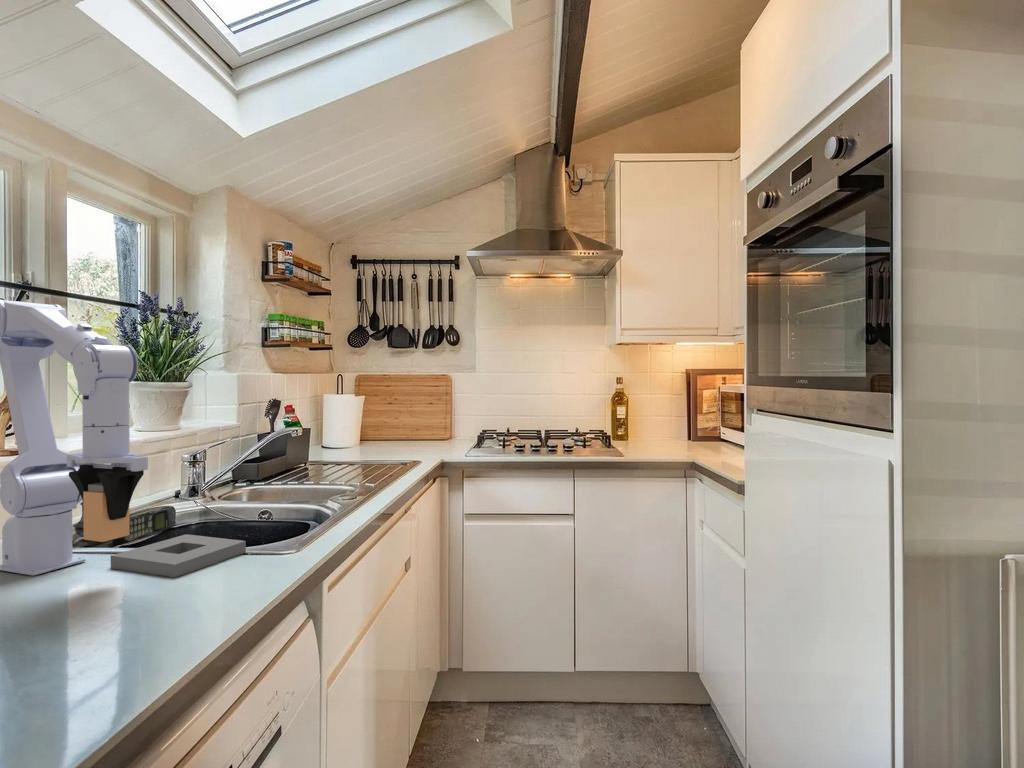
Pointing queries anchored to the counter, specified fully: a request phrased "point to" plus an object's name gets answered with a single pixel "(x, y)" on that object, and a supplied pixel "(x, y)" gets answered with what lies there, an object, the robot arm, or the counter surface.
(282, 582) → the counter surface
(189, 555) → the socket plate
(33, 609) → the counter surface
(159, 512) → the mobile phone
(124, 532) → the plug
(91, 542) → the salt shaker
